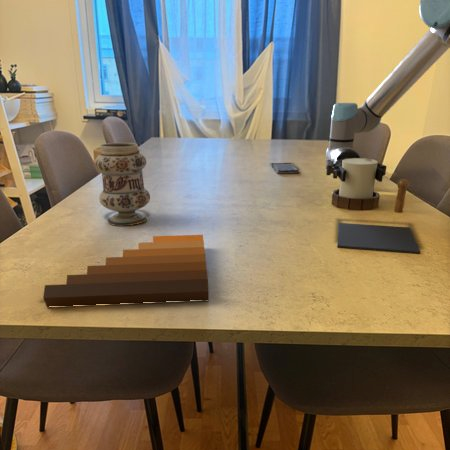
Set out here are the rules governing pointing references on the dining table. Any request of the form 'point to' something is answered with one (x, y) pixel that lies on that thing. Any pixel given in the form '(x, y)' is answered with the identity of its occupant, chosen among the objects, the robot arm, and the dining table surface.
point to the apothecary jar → (123, 182)
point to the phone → (284, 168)
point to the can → (358, 178)
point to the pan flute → (140, 276)
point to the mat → (377, 238)
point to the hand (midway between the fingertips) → (362, 176)
